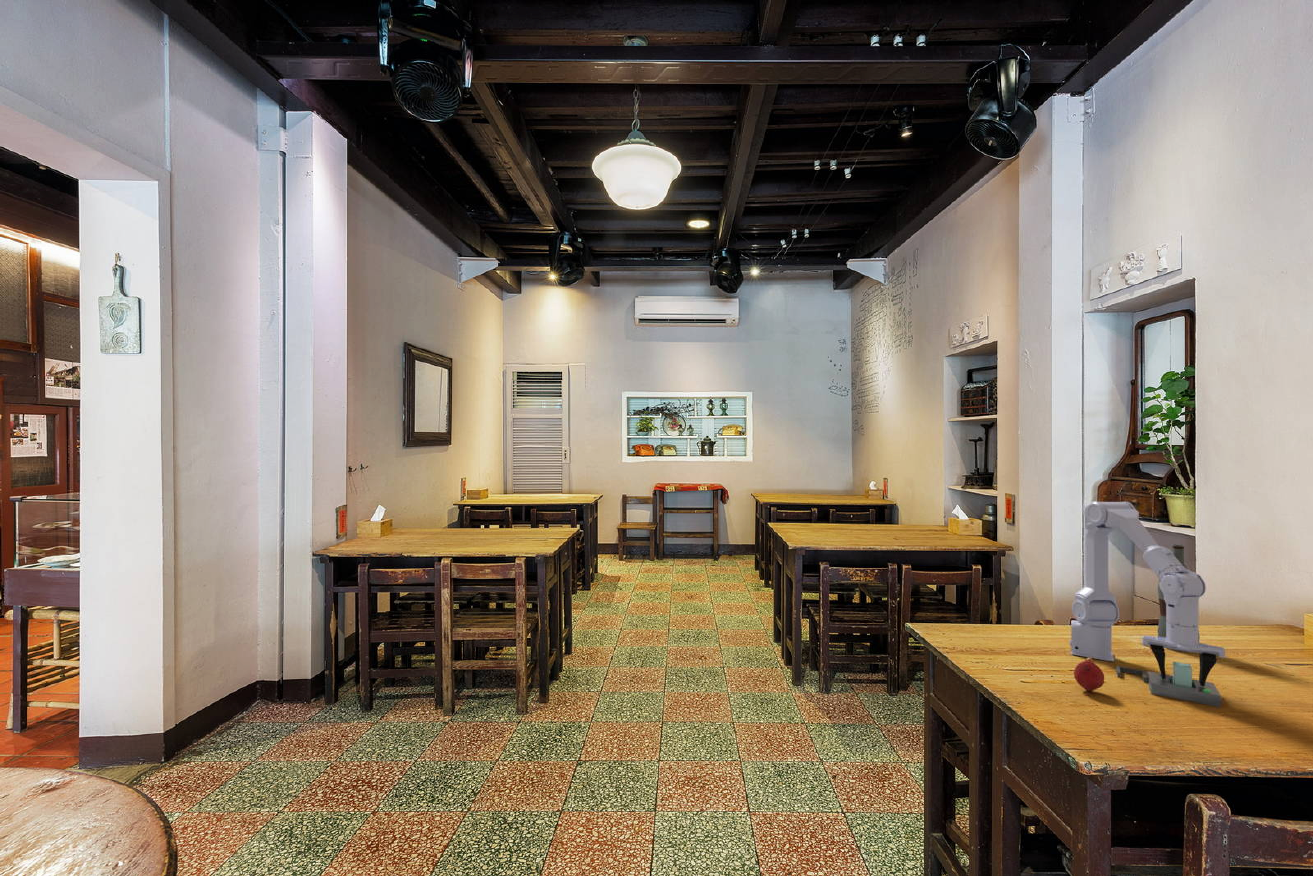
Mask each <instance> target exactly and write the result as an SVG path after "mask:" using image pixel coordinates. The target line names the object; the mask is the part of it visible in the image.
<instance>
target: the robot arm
mask: <svg viewBox="0 0 1313 876" xmlns="http://www.w3.org/2000/svg"><path fill="white" fill-rule="evenodd" d="M1139 518H1140V511H1138V510H1137V509H1136V508H1135V506H1134V505H1133V504H1132V503H1131V502H1128V501H1095V500H1093V501H1091V502H1089V504H1088V505H1086V506H1085V507H1084V524H1083V525H1084V526H1083V531H1084V532H1083V533H1084V535H1083V536H1084V537H1083V538H1084V539H1083V540H1084V541H1083V543H1084V544H1083V545H1084V546H1083V548H1084V549H1083V551H1084V553H1083V554H1084V555H1083V556H1084V558H1083V560H1084V561H1083V563H1084V564H1083V565H1084V569H1083V570H1084V572H1083V573H1084V575H1083V579H1084V581H1083V582H1084V584H1083V585H1084V586H1083V587H1082V588H1081V589H1079V590H1078V591H1076V592H1075V593H1074V600H1073V602H1072V605H1071V612H1072V614H1073V617H1074V618H1075V619H1076V620H1075V619H1074V620H1073V619H1072V620H1070V621H1071V622H1070V623H1071V624H1070V628H1071V629H1070V634H1071V635H1070V637H1071V638H1070V639H1069V647H1071V648H1070V649H1071V650H1070V654H1071V655H1073V656H1080V657H1085V658H1092V659H1096V660H1101V661H1108V662H1115V658H1114V653H1113V652H1112V649H1113V648H1112V638H1113V637H1112V633H1113V631H1112V630H1113V629H1112V627H1113V626H1114V625H1115V623H1116V622H1117V621H1118V620H1119V618H1120V608H1119V606H1118V602H1117V600H1118V598H1117V596H1115V594H1114V593H1112V592H1111V591H1110V590H1109V535H1110V534H1111V533H1112V532H1114V531H1115V530H1120V531H1122V532H1123V533H1124V534H1126V536H1127V537H1128V538H1129V539H1130V540H1131V541H1132V542H1133V543H1134V544H1135V545H1136V546H1137V547H1138V548H1139V549H1140V550H1141V551H1142V552H1143V555H1142V559H1143V561H1144V563H1145V564H1146V565H1147V567H1149V568H1150V569H1151V571H1152V572H1153V573H1154V574H1155V576H1156V577H1157V578H1158V580H1159V579H1160V580H1161V582H1159V581H1158V582H1159V586H1160V589H1161V591H1162V592H1163V595H1164V600H1165V602H1166V638H1165V637H1158V636H1151V635H1141V636H1142V637H1141V642H1142V643H1141V644H1142V645H1143V646H1147V647H1148V646H1149V647H1150V650H1151V651H1152V654H1153V655H1154V657H1155V658H1154V659H1156V662H1157V664H1158V667H1159V668H1158V669H1159V673H1160V674H1161V678H1162V679H1166V675H1167V673H1166V666H1165V665H1166V651H1165V649H1167V648H1169V649H1168V650H1170V649H1176V650H1182V651H1188V652H1193V653H1195V654H1198V657H1199V674H1198V680H1199V684H1200V685H1201V686H1205V682H1207V678H1208V676H1209V675H1210V672H1211V671H1212V669H1213V668H1214V666H1215V665H1216V664H1217V662H1218V658H1222V659H1226V649H1225V648H1224V647H1222V646H1217V645H1211V644H1208V643H1203V642H1200V639H1199V636H1200V631H1199V628H1200V627H1199V621H1200V620H1199V617H1200V615H1199V613H1200V612H1199V606H1200V605H1199V600H1200V598H1201V597H1203V596H1204V595H1205V593H1206V590H1207V587H1206V583H1205V581H1204V579H1203V577H1202V576H1201V575H1200V574H1199V573H1197V572H1193V571H1191V570H1190V569H1189V568H1187V569H1186V568H1185V567H1184V566H1183V565H1182V564H1181V563H1180V562H1179V561H1178V560H1177V558H1176V557H1175V556H1174V555H1173V552H1172V549H1169V548H1167V547H1165V546H1160V545H1158V543H1157V542H1156V540H1155V539H1154V538H1153V536H1152V535H1151V533H1149V531H1148V530H1147V528H1146V527H1145V526H1144V524H1143V523H1142V522H1141V521H1140V519H1139ZM1188 652H1187V653H1188ZM1217 657H1218V658H1217Z"/></svg>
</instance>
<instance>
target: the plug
mask: <svg viewBox="0 0 1313 876" xmlns="http://www.w3.org/2000/svg"><path fill="white" fill-rule="evenodd" d="M1172 676H1173V684H1176V685H1181V686H1186V687H1192V679H1193V667H1192V666H1191V664H1190V663H1185V662H1184V663H1183V662H1180V661H1179V662H1178V661H1172Z"/></svg>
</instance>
